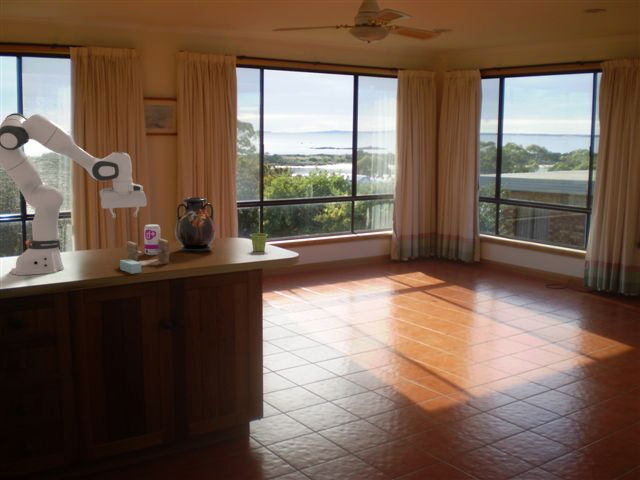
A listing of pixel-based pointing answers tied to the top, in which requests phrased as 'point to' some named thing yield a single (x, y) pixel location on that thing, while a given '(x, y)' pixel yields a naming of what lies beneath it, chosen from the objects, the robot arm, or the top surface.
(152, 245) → the supplement can
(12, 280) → the top surface
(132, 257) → the peg frame
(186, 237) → the amphora vase
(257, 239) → the plant pot
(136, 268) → the light blue block
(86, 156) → the robot arm
